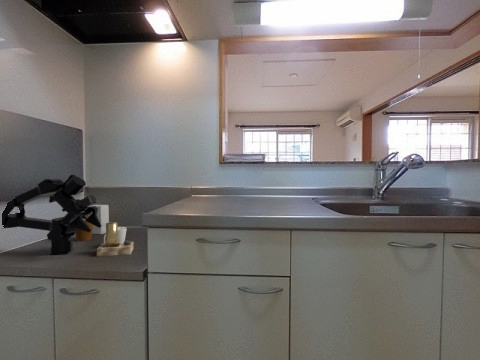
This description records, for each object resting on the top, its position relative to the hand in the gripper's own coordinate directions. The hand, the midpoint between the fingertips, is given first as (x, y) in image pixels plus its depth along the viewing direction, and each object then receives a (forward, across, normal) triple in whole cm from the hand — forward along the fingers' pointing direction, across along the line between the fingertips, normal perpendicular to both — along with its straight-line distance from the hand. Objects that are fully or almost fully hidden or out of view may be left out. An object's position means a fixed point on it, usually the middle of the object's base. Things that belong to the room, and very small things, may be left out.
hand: (95, 229), depth 109 cm
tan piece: (+12, 0, +2) cm, 12 cm away
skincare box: (-4, +37, +18) cm, 42 cm away
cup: (+10, +9, +4) cm, 14 cm away
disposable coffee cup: (-4, +22, +18) cm, 29 cm away
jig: (+13, 0, +1) cm, 13 cm away
